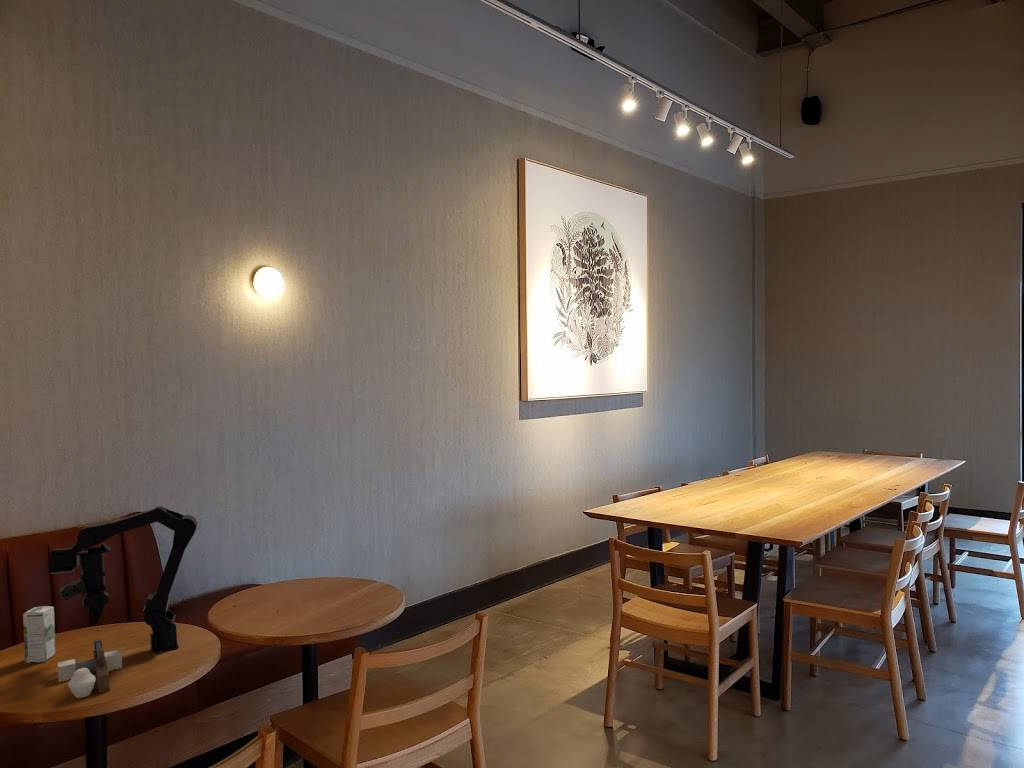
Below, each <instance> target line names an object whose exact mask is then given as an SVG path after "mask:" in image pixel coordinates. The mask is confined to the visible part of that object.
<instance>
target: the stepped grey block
mask: <svg viewBox="0 0 1024 768" xmlns="http://www.w3.org/2000/svg"><path fill="white" fill-rule="evenodd" d="M93 645H94V646H93V648H94V650H96V651H97V655H98V660H99V665H100V666H102V665H104V657H103V653H102V649H103V644H102V638H99V639H94V640H93Z"/></svg>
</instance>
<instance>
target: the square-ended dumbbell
mask: <svg viewBox="0 0 1024 768" xmlns="http://www.w3.org/2000/svg"><path fill="white" fill-rule="evenodd" d="M122 656H123V655H122V651H121V649H116V650H110V651H107V652H104V657H105V659H106V663H107V667H108V670H111V671H115V670H114V669H116V670H120V669H123V659H122V658H123V657H122ZM95 659H98V658H95ZM95 659H94V658H90V659H87V660H82V661H76V659H75V658H73V659H69V660H64V661H58V662H57V672H58V673H57V674H58V675H57V676H58V682H59V683H62V682H65V681H66V682H67V681H70V679H72V677H73V676H74V672H75V671H76V670H78V669H81V668H88V669H89V670H90V672H92V671H96V667H95ZM119 668H120V669H119ZM61 681H62V682H61Z"/></svg>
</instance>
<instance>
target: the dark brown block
mask: <svg viewBox="0 0 1024 768" xmlns="http://www.w3.org/2000/svg"><path fill="white" fill-rule="evenodd" d="M92 652H93V659H95V658H98V655H97V651H96V650H95V649H94V650H93V651H92ZM102 653H103V657H104V653H105V651H104V648H102ZM95 667H96V670H95V677H97V678H96V682H97V683H96V684H97V687H98V691H99V693H100V692H101V693H103V692H104V693H105V692H109V691H111V686H110V685H111V684H110V683H111V682H110V673H109V672H110V671H108V667H107V663H106V659H105V657H104V665H102V666H100V665H99V660H98V659H95ZM108 690H109V691H108ZM101 693H100V694H101Z"/></svg>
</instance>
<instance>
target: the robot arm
mask: <svg viewBox="0 0 1024 768" xmlns="http://www.w3.org/2000/svg"><path fill="white" fill-rule="evenodd" d="M155 523H159V524H161V525H163V526H164V527H166V528H167V529H170V530H171V531H173V537H172V538H173V539H172V547H171V550H170V553H169V556H168V558H167V561H166V564H165V567H164V570H163V572H162V576H161V579H160V581H159V584H158V586H157V589H156V592H155V593H154V594H151V593H149V594H148V596H147V598H146V600H145V601H146V602H145V605H144V608H143V610H142V613H141V614H143V621H144V623H145V624H146V625H148V626H150V628H151V633H149V640H150V641H149V643H150V650H151V651H153V653H154V654H157V653H156V652H158V653H161V652H160V651H162V652H167V651H171V650H170V649H172V650H175V649H179V645H178V636H177V635H178V634H177V632H178V631H177V625H176V623H175V620H176V619H175V618H176V616H177V615H176V614H175V613H174V612H173V611H171V610H170V609H169V602H170V595H171V591H172V588H173V584H174V582H175V579H176V576H177V573H178V571H179V568H180V565H181V561H182V559H183V556H184V554H185V552H186V551H185V550H186V548H187V547H188V545H189V543H190V542H191V540H192V539H193V537H194V535H195V533H196V531H197V528H198V524H199V523H198V520H197V518H196V517H194V516H193V515H190V514H185V515H184V514H181V513H179V512H176V511H174V510H171V509H168V508H166V507H164V506H161V505H160V506H156V507H154V508H151V509H148V510H145V511H142V512H139V513H135V514H133V515H128V516H126V517H122V518H119V519H117V520H111V521H101V522H94V523H89V524H87V525H85V526H84V527H83V528H82V529H81V530H80V531H79V532H78V533H77V541H76V543H74V545H72V547H66V548H53V549H51V551H50V555H49V562H48V570H49V573H50V574H51V575H52V574H53V575H54V574H55V575H56V574H62V573H70V572H71V573H72V572H75V570H76V568H79V567H80V574H79V578H78V579H75V580H73V581H72V582H69V583H68V584H67V583H66V584H65V585H62V586H61V587H59V588H58V593H59V594H60V597H61V598H62V600H63V602H67V601H68V600H70V599H72V598H73V597H75V596H78V595H79V594H80V595H84V596H83V597H82V599H81V601H82V606H83V608H84V609H85V608H88V609H89V611H90V616H91V618H92V622H93V624H98V623H99V621H100V620H101V616H102V614H103V611H104V608H105V607H106V605H107V604H109V603H110V599H109V598H110V597H109V593H108V592H106V590H107V587H106V577H105V576H106V571H105V563H104V562H105V560H104V554H107V553H110V551H111V549H112V548H111V547H110V546H108V545H107V544H106V543H105V542H104V541H106V540H108V539H110V538H112V537H114V536H116V535H119V534H122V533H126V532H128V531H132V530H135V529H138V528H141V527H144V526H145V527H146V526H149V525H151V524H155ZM101 543H102V544H101ZM99 544H101V545H99ZM98 545H99V546H98ZM86 548H87V549H88V550H84V549H86ZM166 650H167V651H166Z"/></svg>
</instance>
